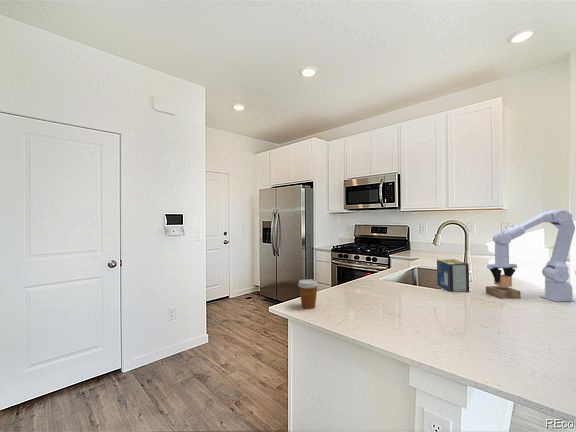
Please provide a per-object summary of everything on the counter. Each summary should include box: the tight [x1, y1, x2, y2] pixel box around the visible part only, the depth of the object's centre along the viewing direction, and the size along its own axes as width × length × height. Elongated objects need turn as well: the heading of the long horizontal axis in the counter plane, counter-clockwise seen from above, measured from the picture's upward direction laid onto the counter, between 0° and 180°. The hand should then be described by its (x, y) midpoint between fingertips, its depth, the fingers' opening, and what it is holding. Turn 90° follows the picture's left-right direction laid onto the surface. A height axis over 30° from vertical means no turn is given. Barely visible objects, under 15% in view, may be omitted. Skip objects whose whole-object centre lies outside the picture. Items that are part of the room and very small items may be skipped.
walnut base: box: [485, 285, 522, 300], centre depth 140 cm, size 10×10×4 cm
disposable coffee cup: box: [297, 278, 319, 310], centre depth 127 cm, size 10×10×12 cm
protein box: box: [436, 259, 470, 293], centre depth 155 cm, size 10×15×16 cm
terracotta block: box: [493, 274, 513, 288], centre depth 139 cm, size 5×5×5 cm
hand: (502, 282), depth 140 cm, fingers closed on terracotta block, 5 cm apart
